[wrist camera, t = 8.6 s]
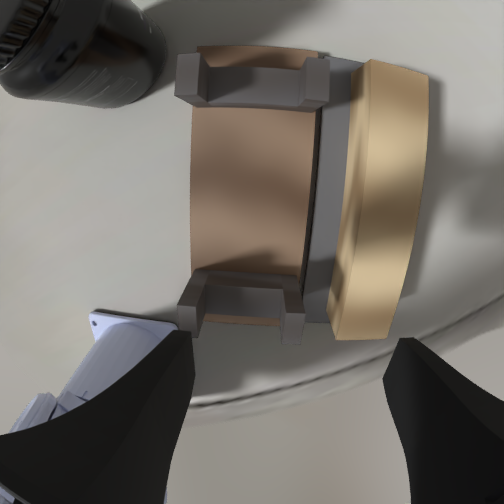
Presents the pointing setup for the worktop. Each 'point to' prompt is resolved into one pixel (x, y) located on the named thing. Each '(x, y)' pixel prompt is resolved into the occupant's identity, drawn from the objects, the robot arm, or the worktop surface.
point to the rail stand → (249, 182)
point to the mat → (328, 190)
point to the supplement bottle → (78, 51)
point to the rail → (378, 198)
